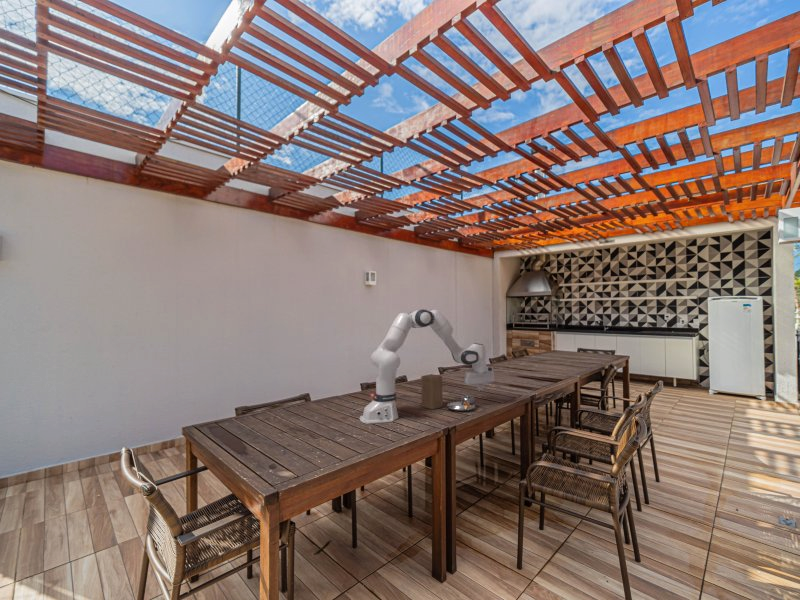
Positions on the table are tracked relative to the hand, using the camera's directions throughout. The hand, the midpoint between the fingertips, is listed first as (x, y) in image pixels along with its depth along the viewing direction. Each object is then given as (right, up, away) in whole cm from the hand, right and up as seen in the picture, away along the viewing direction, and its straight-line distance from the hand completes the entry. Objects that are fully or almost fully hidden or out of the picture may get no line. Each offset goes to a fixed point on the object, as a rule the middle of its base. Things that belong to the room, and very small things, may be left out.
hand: (480, 390), depth 229 cm
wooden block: (-30, -11, +1) cm, 32 cm away
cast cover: (-9, -7, -4) cm, 12 cm away
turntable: (-13, -10, -5) cm, 18 cm away
